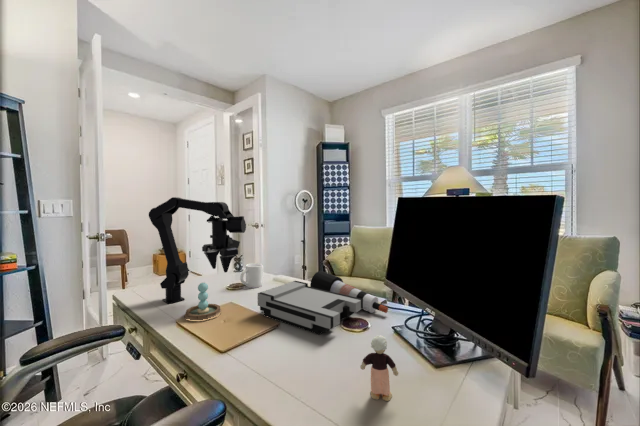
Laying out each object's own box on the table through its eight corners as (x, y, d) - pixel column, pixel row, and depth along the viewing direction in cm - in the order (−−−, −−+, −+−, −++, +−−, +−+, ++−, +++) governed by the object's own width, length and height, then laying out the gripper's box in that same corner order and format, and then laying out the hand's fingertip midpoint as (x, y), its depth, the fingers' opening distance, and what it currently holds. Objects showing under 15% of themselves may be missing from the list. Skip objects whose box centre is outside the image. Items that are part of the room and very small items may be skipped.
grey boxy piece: (330, 341, 81) (330, 314, 81) (257, 315, 100) (257, 293, 100) (362, 318, 98) (362, 295, 98) (295, 299, 117) (295, 280, 117)
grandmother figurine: (394, 389, 60) (395, 332, 59) (399, 402, 56) (399, 341, 55) (359, 388, 60) (359, 331, 60) (361, 401, 56) (361, 340, 56)
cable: (381, 330, 98) (377, 309, 94) (313, 297, 121) (307, 280, 116) (395, 310, 104) (391, 290, 100) (328, 283, 127) (322, 266, 123)
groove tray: (179, 315, 99) (179, 310, 99) (210, 306, 108) (210, 301, 108) (194, 325, 91) (194, 319, 91) (227, 314, 100) (227, 308, 100)
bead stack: (197, 311, 100) (196, 282, 100) (208, 309, 102) (208, 280, 102) (197, 314, 97) (197, 284, 97) (209, 312, 99) (209, 283, 98)
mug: (245, 291, 127) (245, 269, 127) (235, 287, 133) (235, 266, 132) (266, 285, 136) (266, 264, 136) (256, 282, 141) (256, 262, 141)
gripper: (249, 232, 112) (249, 270, 113) (225, 229, 124) (225, 264, 125) (224, 235, 104) (225, 275, 104) (201, 231, 116) (201, 268, 116)
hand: (219, 270), depth 113 cm, fingers open, 9 cm apart
